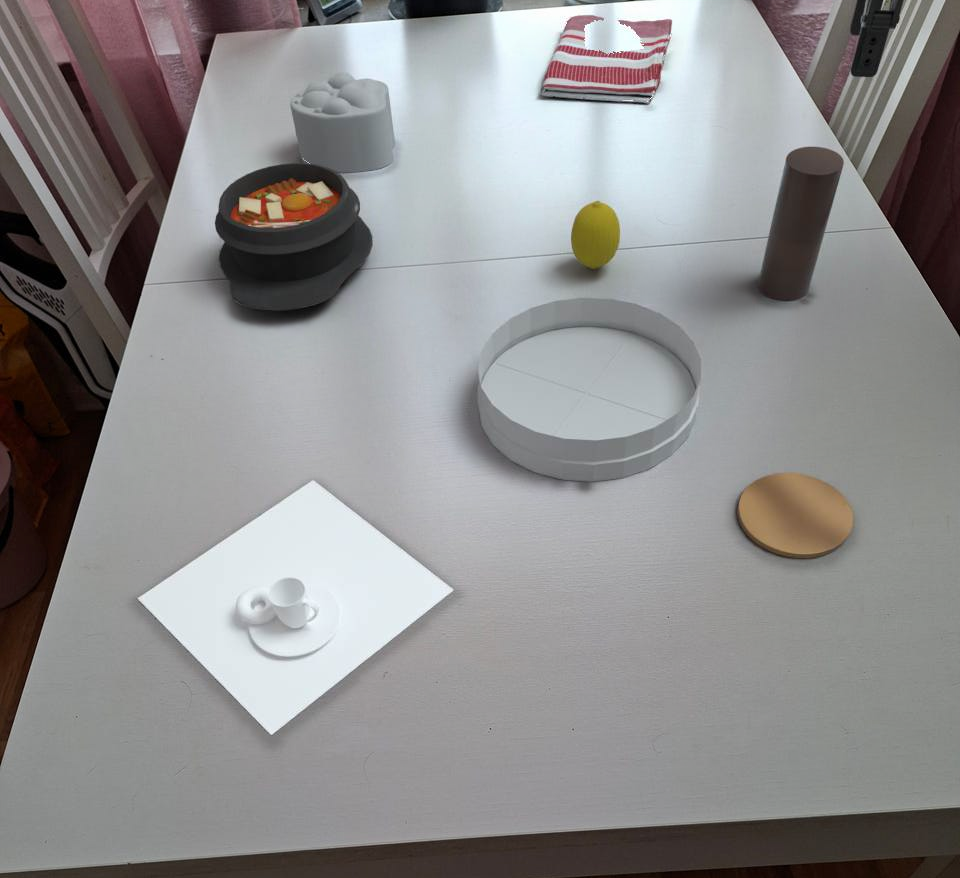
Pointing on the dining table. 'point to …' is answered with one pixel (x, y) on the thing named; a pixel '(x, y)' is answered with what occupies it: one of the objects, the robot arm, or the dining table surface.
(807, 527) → the coaster
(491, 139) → the dining table surface
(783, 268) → the brown cylinder
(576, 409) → the dish
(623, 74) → the dish towel
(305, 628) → the teacup and saucer
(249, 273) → the casserole
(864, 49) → the robot arm
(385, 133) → the lumpy-topped squat cylinder
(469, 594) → the dining table surface
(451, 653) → the dining table surface
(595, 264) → the lemon
